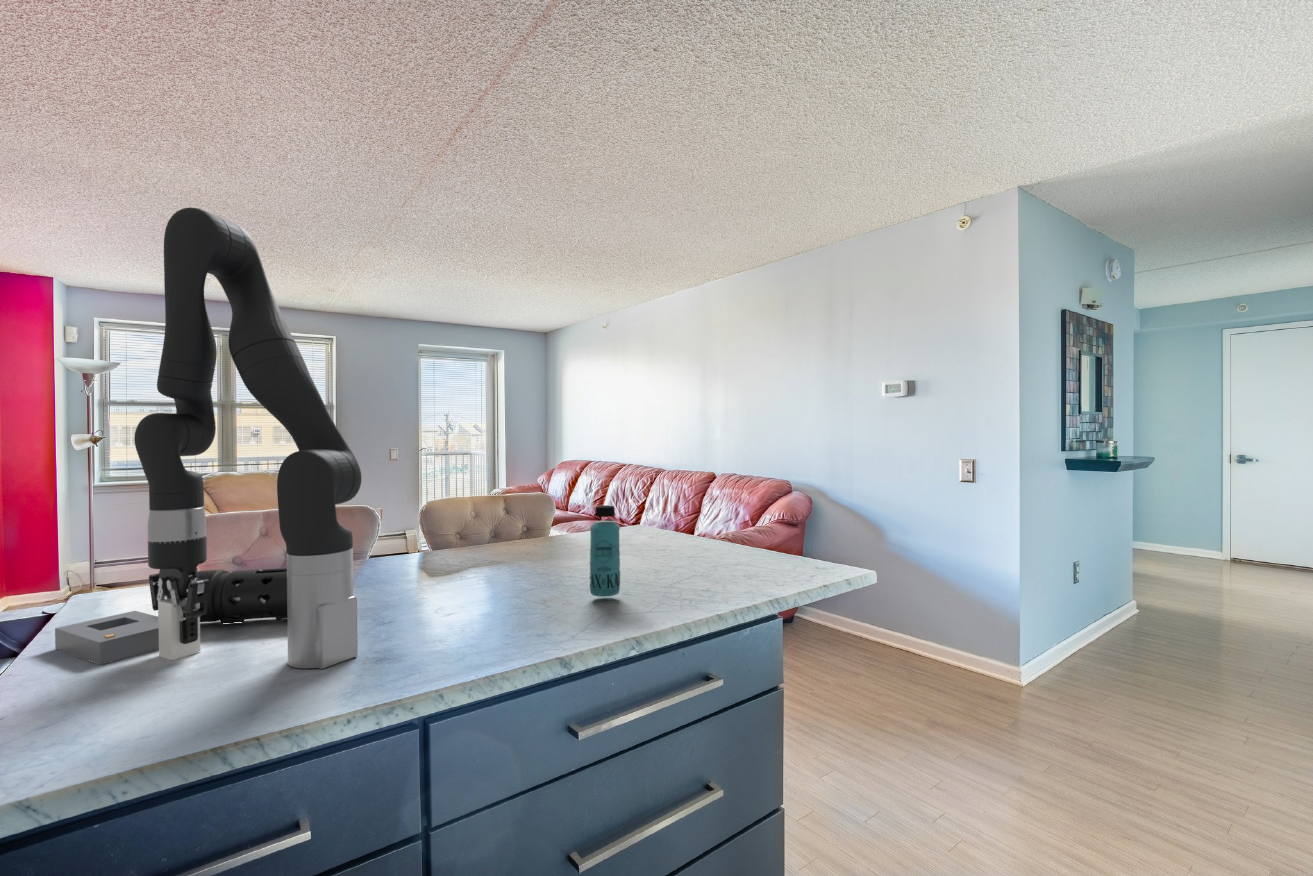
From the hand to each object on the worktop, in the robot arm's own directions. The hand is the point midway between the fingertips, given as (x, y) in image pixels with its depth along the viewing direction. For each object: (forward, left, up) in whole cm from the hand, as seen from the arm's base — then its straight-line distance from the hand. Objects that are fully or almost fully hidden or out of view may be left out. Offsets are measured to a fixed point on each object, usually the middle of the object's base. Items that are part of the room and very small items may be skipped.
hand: (179, 639), depth 99 cm
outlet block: (+14, +2, -2) cm, 14 cm away
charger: (0, 0, -2) cm, 2 cm away
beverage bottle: (-46, -57, -3) cm, 73 cm away
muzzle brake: (+5, -17, -3) cm, 18 cm away
